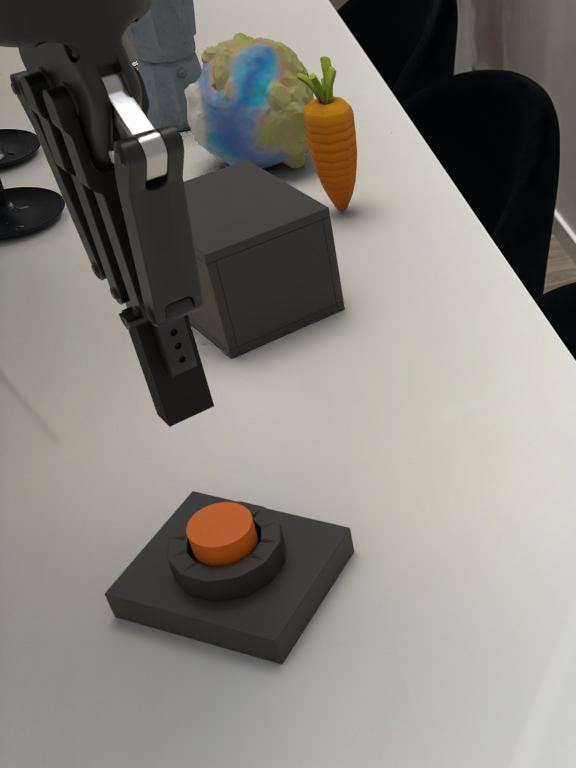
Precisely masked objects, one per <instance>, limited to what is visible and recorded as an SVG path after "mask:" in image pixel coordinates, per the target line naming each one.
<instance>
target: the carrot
mask: <svg viewBox="0 0 576 768" xmlns="http://www.w3.org/2000/svg"><path fill="white" fill-rule="evenodd" d="M319 61H320V68H321V72H322V78H320V79H319V78H318V76H317V75H316V73H315V72H311V73H308V75H309V77H307V76H306V75H304V74H302V73H298V75H297V79H299V80H300V81H302V82H304V83H305V84H306V85H307V86H308V87H309V88H310V89H311V90H312V92H313V94H314V96H315V97H314V99H313V100H312V101H311V102H310V103H308V104H307V105H306V106H305V107H304V109H303V121H304V126H305V131H306V136H307V141H308V145H309V150H310V152H309V153H310V157H311V160H312V163H313V167H314V169H315V171H316V174H317V177H318V179H319V182H320V185H321V186H322V188H323V191H324V193H326V196H327V197H328V199H329V200H330V201H331V202H332V204H333V206H334V208H335V209H336V210H337V211H339V212H340V213H345V211H346V210H347V209H348V208H349V205H350V202H351V200H352V198H353V194H354V191H355V190H354V189H355V186H356V183H357V182H356V180H357V169H358V168H357V166H358V144H357V132H356V121H355V113H354V110H353V108H352V106H351V105H350V104H349V103H348V102H347V101H346V100H345V99H344V98H343V97H340V96H334V84H335V80H336V78H337V77H336V76H337V69H336V68H335V67H333V66H332V62H331V58H330V57H328V56H326V55H321V57H319Z"/></svg>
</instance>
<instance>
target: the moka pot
mask: <svg viewBox="0 0 576 768" xmlns="http://www.w3.org/2000/svg"><path fill="white" fill-rule="evenodd" d="M195 13H196V12H195V4H194V0H152V4H151V7H150V9H149V11H148V12H147V14H146V15H145V16H144V17H143V18H142V19H140V20H139V21H137V22H132V23H131V24H130V25H129V26H128V28H127V29H126V32H127V35H128V37H129V39H130V40H131V41H132V43H133V46H134V50H135V54H136V56H137V57H138V58H137V63H138V66H137V70H138V71H139V72H140V75H141V77H142V79H143V82H144V85H145V89H146V92H147V96H148V99H149V110H148V113H147V116H148V120H149V122H150V123H151V125H152V126H153V128H154V129H157V128H160V127H163V126H167V125H170V124H172V125H174V126H175V127H176V128H177V130H178V132H185V131H189V130H190V131H191V128H190V126H189V124H188V120H187V100H186V96H185V93H184V92H185V89H186V88H187V87H188V86H189V85H190V84H193V83H195V82H196V81H197V80H198V79H199V77H200V75H201V72H202V66H201V63H200V60H199V58H198V55H197V53H196V50H197V48H196V47H197V46H196V40H195V36H196V35H197V26H196V25H197V23H196V14H195Z"/></svg>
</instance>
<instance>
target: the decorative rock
mask: <svg viewBox="0 0 576 768" xmlns="http://www.w3.org/2000/svg"><path fill="white" fill-rule="evenodd" d="M200 58H201V62H202V66H201V69H202V72H201V75H200V77H199V79H198V80H197V81H196V82H195V83H193V84H190V85H189V86H188V87H187V88H186V89H185V92H184V93H185V96H186V100H187V120H188V124H189V126H190V128H191V129H190V131H191V132H192V135H193V137H194V139H195V142H196V143H197V144H198V145H199V146H201V147H202V148H203V149H205V150H206V151H207V153H209V154H211V155H212V156H213V157H215V159H216V160H217V161H218V162H219V163H220V164H227V165H229V166H231V165H234V164H237V163H240V162H243V161H246V160H248V161H250V162H252V163H253V164H255V165H257V166H259V167H260V168H262V169H264V170H265V169H267V168H270V167H273V166H276V165H279V164H285V165H286V166H288V167H289V168H292V169H299V168H301V167H303V166H305V163H306V162H305V161H306V154H307V153H310V150H309V145H308V141H307V136H306V131H305V126H304V121H303V109H304V107H305V106H306V105H307V104H308V103H310V102H311V101H312V100H313V99H315V97H314V96H315V94H314V93H313V92H312V90H311V89H310V88H309V87H308V86H307V85H306V84H305V83H304V82H302V81H300V80H299V79H297V75H298V73H302V74H304V75H306V76H307V77H309V72H308V69H307V67H306V66H305V65H304V63H303V62H302V61H301V60H300V59H299V57H298V55H297V53H296V52H295V51H294V50H293V49H291V48H290V47H289V46H288V45H286V44H285V43H283V42H281V41H276V40H273V39H270V38H266V37H262V36H261V37H257V38H254V37H252V36H250V35H249V36H247V34H245V33H243V32H241V31H240V32H236V33H235V34H234V36H233V37H232V39H228V40H223V41H221V42H218V43H217V45H216V46H213V45H211V46H208V47H206V48H205V49H204V50H203V51H202V53H201V56H200ZM309 78H310V77H309Z"/></svg>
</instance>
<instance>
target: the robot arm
mask: <svg viewBox="0 0 576 768" xmlns="http://www.w3.org/2000/svg"><path fill="white" fill-rule="evenodd" d="M151 4H152V0H0V47H2V48H17V49H18V53H19V56H20V60H21V62H22V64H23V66H24V68H25V70H23V71H18V72H14V73H11V74H9V80H10V88H11V90H12V92H13V94H14V95H15V96H16V97H17V99H18V101H19V103H20V104H21V106H22V108H23V110H24V112H25V114H26V116H27V118H28V120H29V122H30V124H31V126H32V128H33V130H34V132H35V135H36V138H37V139H38V142H39V144H40V147H41V149H42V152H43V154H44V156H45V158H46V161H47V163H48V165H49V168H50V170H51V172H52V175H53V177H54V180H55V182H56V184H57V187H58V190H59V192H60V194H61V196H62V198H63V201H64V203H65V205H66V208H67V210H68V212H69V215H70V217H71V220H72V222H73V225H74V227H75V230H76V232H77V234H78V236H79V239H80V242H81V244H82V246H83V249H84V251H85V253H86V255H87V258H88V260H89V263H90V268H91V270H92V272H93V274H94V276H95V277H97V279H99V280H100V281H104V280H107V283H108V286H109V292H110V294H111V296H112V298H113V300H115V301H116V302H117V303H118V304H119V305H121V306H122V305H124V304H125V306H126V307H125V308H124V309H122V310H121V312H120V313H118V316H119V319H120V320H121V322H122V325H123V326H124V327H125V328H126V330H128V333H129V336H130V338H131V343H132V346H133V347H134V351H135V354H136V357H137V360H138V363H139V366H140V368H141V371H142V374H143V377H144V380H145V383H146V385H147V388H148V392H149V394H150V398H151V400H152V403H153V406H154V410H155V412H156V415H157V416H158V417H159V418H160V419H161V420H162V421H163V422H164V423H165V424H166V425H167V427H169V428H170V427H171V428H172V427H173V426H175V425H177V424H179V423H181V422H183V421H186V420H188V419H190V418H192V417H195V416H196V415H198V414H201V413H203V412H205V411H207V410H210V409H212V408H215V404H214V399H213V397H212V393H211V389H210V386H209V382H208V380H207V376H206V373H205V369H204V365H203V362H202V359H201V356H200V352H199V349H198V345H197V342H196V338H195V335H194V331H193V329H192V325H191V324H190V321H189V317H188V314H189V313H192V312H194V311H197V310H199V309H201V308H203V298H202V292H201V286H200V280H199V274H198V268H197V261H196V255H195V249H194V243H193V237H192V231H191V225H190V219H189V213H188V206H187V200H186V194H185V188H184V164H185V145H184V139H183V136H182V135H181V133H180V131H178V130H177V128H176V127H175V126H174V125H172V124H170V125H167V126H163V127H160V128H157V129H155V128H153V126H152V125H151V123H150V122H149V120H148V116H147V113H148V110H149V99H148V96H147V92H146V89H145V85H144V82H143V79H142V77H141V75H140V72H139V71H138V67H137V66H136V67H135V66H133V65H132V63H131V61H130V58H129V56H128V53H127V50H126V48H125V47H124V46H123V39H122V37H123V34H124V32H125V31H126V29H127V28H128V26H129V25H130V24H131V23H132V22H137V21H139V20H140V19H142V18H143V17H144V16H145V15H146V14H147V12H148V11H149V9H150V7H151Z"/></svg>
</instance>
